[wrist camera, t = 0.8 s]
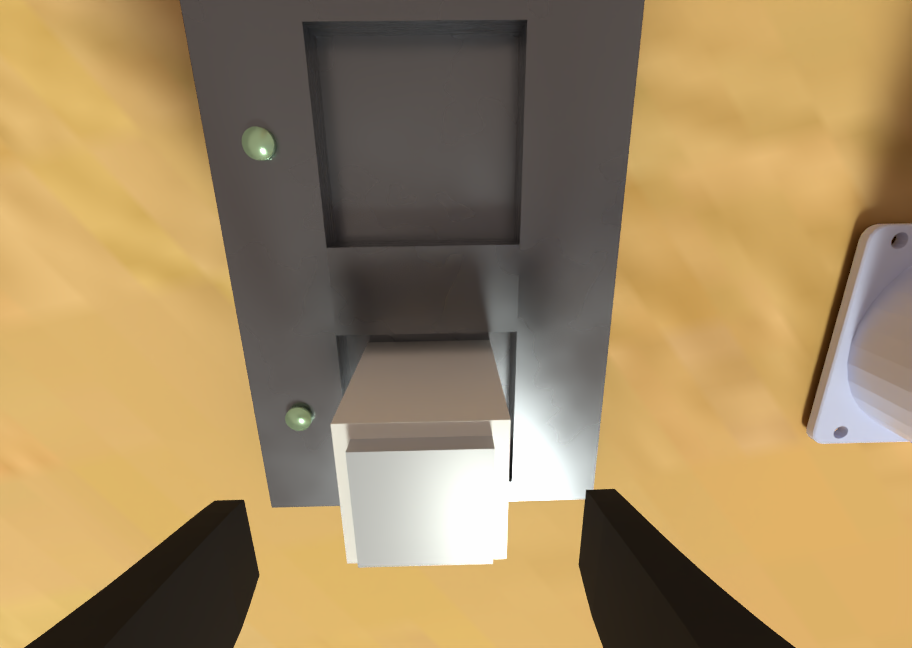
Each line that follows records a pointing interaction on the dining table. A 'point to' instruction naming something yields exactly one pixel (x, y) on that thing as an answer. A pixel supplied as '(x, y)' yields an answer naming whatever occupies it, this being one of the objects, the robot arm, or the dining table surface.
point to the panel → (420, 206)
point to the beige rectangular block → (423, 455)
